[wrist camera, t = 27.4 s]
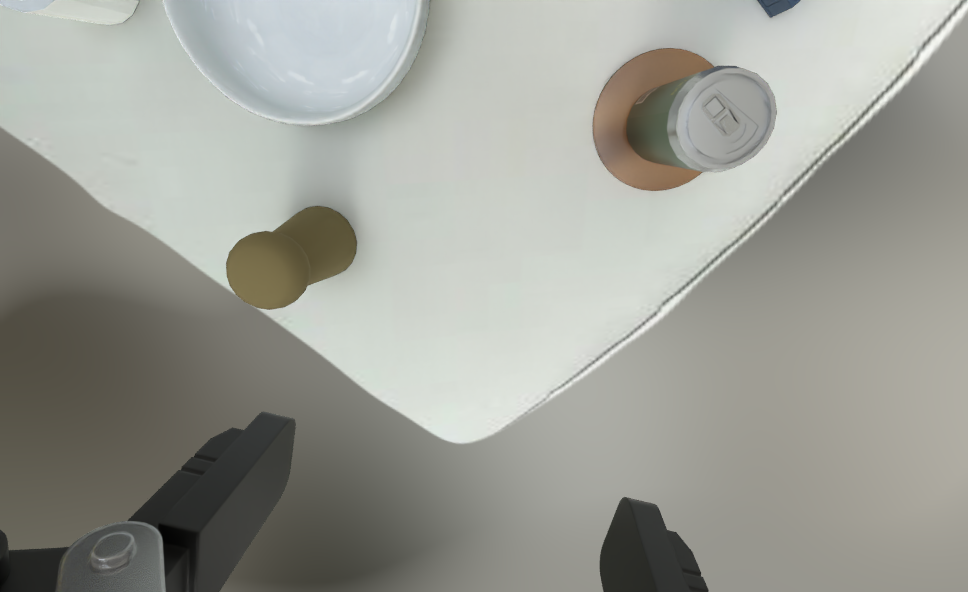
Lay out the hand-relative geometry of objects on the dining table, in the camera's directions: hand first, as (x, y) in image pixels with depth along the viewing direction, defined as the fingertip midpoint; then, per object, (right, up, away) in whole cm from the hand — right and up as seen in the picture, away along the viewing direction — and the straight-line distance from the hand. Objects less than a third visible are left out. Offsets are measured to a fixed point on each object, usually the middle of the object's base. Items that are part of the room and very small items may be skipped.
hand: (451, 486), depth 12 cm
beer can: (+14, +17, +25) cm, 33 cm away
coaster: (+14, +18, +25) cm, 34 cm away
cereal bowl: (-11, +26, +24) cm, 37 cm away
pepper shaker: (-13, +9, +30) cm, 34 cm away
